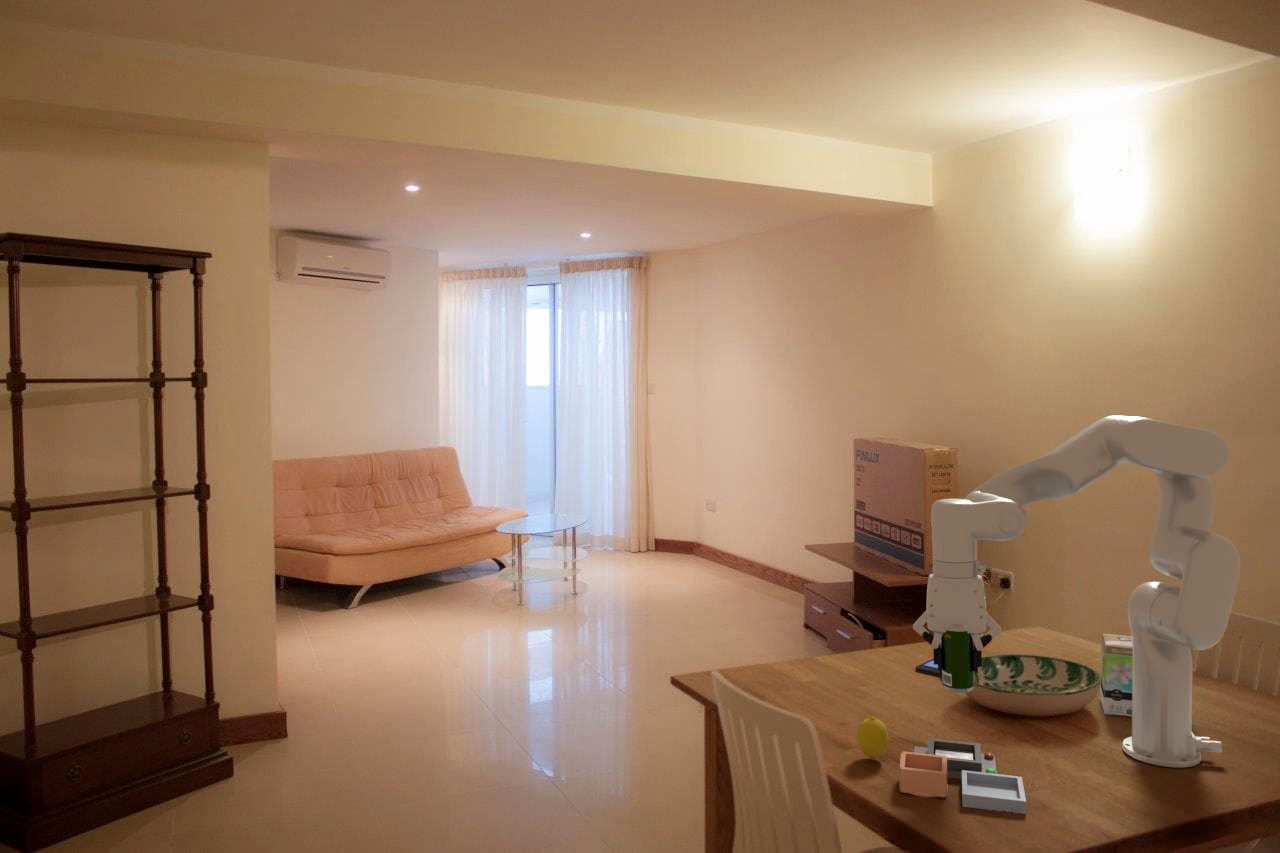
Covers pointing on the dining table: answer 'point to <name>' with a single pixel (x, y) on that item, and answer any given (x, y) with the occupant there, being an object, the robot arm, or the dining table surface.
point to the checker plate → (954, 753)
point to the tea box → (1116, 674)
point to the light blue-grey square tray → (993, 792)
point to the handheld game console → (930, 668)
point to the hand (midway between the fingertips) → (957, 668)
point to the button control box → (956, 765)
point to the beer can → (957, 659)
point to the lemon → (872, 737)
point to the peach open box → (923, 774)
